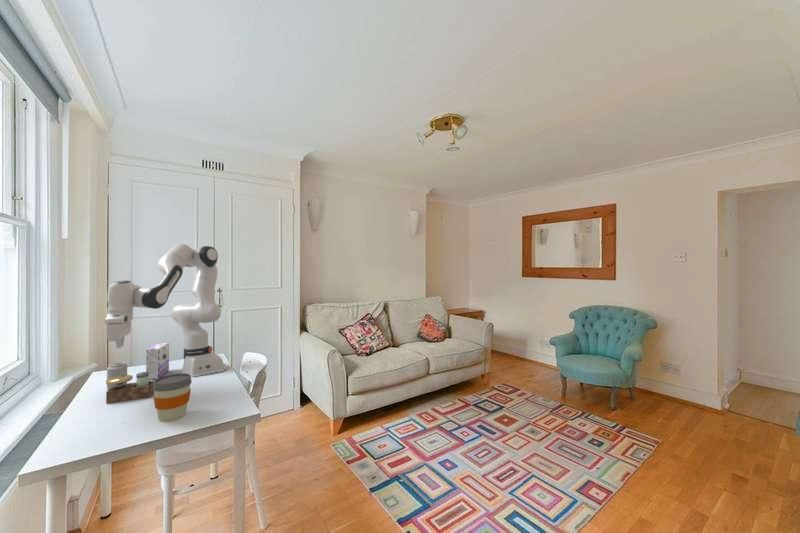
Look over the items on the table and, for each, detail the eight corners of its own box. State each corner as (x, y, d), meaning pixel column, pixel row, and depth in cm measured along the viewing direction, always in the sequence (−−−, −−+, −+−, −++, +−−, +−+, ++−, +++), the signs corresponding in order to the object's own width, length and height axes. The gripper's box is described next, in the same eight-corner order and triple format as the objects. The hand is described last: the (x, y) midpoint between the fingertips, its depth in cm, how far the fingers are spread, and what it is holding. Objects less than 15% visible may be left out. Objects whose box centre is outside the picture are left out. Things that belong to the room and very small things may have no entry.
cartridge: (149, 392, 149) (150, 371, 149) (147, 395, 145) (147, 374, 145) (137, 394, 147) (137, 372, 147) (134, 397, 143) (135, 375, 143)
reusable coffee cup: (185, 406, 134) (185, 371, 134) (195, 415, 126) (196, 377, 126) (148, 417, 124) (148, 379, 125) (157, 427, 116) (157, 386, 117)
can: (131, 385, 158) (131, 361, 158) (116, 391, 151) (116, 365, 151) (117, 384, 159) (118, 360, 159) (102, 390, 151) (102, 365, 152)
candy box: (157, 372, 179) (157, 343, 179) (169, 371, 180) (169, 342, 180) (145, 380, 165) (145, 348, 166) (158, 379, 167) (159, 348, 167)
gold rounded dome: (134, 386, 148) (135, 373, 148) (129, 393, 140) (129, 379, 140) (109, 390, 144) (109, 377, 144) (102, 397, 136) (102, 383, 136)
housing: (155, 390, 152) (155, 379, 152) (151, 396, 144) (151, 385, 144) (113, 396, 145) (113, 385, 145) (106, 403, 137) (106, 392, 137)
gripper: (118, 314, 150) (118, 343, 150) (103, 320, 132) (102, 353, 132) (135, 313, 153) (135, 341, 153) (122, 319, 135) (122, 351, 135)
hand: (119, 347), depth 142 cm, fingers closed
